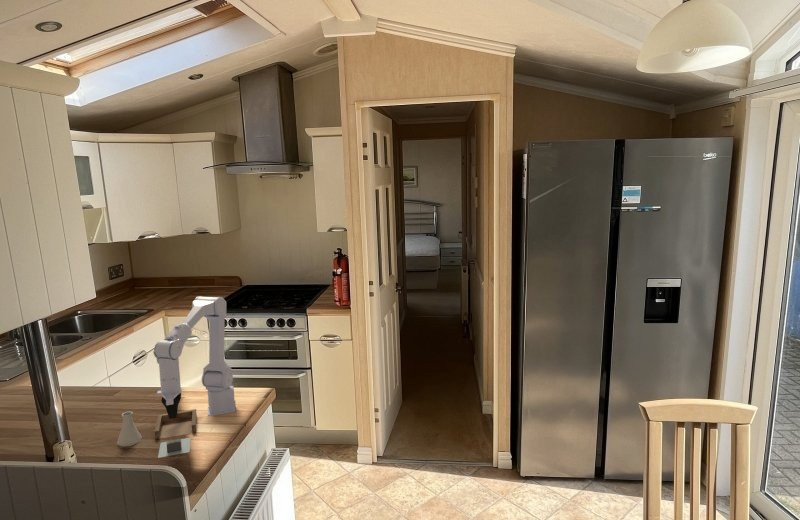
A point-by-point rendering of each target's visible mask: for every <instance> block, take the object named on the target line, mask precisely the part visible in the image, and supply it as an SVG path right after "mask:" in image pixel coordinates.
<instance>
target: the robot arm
mask: <svg viewBox="0 0 800 520" xmlns="http://www.w3.org/2000/svg"><path fill="white" fill-rule="evenodd" d="M203 317H205V318H206V319H207V320H208V321H209V325H208V326H209V330H208V331H209V337H208V338H209V341H208V342H209V343H208V345H209V346H208V347H209V350H208V351H209V354H208V355H209V356H208V359H209V360H208V361H209V363H208V364H206V365H205V366H204V367H203V370H202V375H201V384H202V386H203V387H205V390H207V401H208V402H207V403H208V406H207V416H208V417H211V416H216V415H222V414H223V415H224V414H229V413H230V414H231V413H235V412H236V400H235V389H234V388H235V387H234V385H232V384H233V381H234V376H233V373H232V372H233V371H232V366H231V365H229V363H227V362H226V361H225V322H226V321H225V318H226V317H227V301H226V300H225V299H224V297H223V296H201V295H197V296H196V297H195V298H194V300H193V301H192V304H191V310H190V311H189V312H188V314H187V315H186V317H185V319H184V320H183V321H182V322H181V323H177V324H175V325H174V327H173V328H172V329H171V331H169V333H168V334H167V335H166V336H165V337H164V339H161V340H159V341H158V342H156V344H155V345H154V348H153V349H154V350H153V352H152V353H153V356H154V358H155V359H156V363H157V364H158V370H159V382H160V390H157V391H156V395H157V396H161V403H162V405H163V406H164V407H165V410H166V414H167V413H168V416H169V419H172V418H176V417H177V412H179V411H178V410H179V409H178V408H179V404H180V402H181V399H182V387H181V386H182V385H181V375H180V374H181V373H180V361H179V360H180V358H179V357H181V355H182V352H183V349H184V347H185V345H184V344H185V343H187V341H188V339H189V338H190V337H191V335H192V334H193V332H192V331H193V330H192V329H193V328H194V327H195V326H196V325H197V324H198V322H200V320H202V318H203Z"/></svg>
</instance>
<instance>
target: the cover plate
mask: <svg viewBox="0 0 800 520" xmlns="http://www.w3.org/2000/svg"><path fill="white" fill-rule="evenodd" d="M159 445H160V446H159V449H158V456H157V458H158V459H160V458H164V457H171V456H177V455H182V454H186V453H191V452H190V451H191V437H186V438H185V437H184V438H176V439H172V440H167V441H162V442H160V444H159Z"/></svg>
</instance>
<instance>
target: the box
mask: <svg viewBox="0 0 800 520" xmlns="http://www.w3.org/2000/svg"><path fill="white" fill-rule="evenodd" d="M197 416H198V415H197V408H195V409H189V410H182V411H177V417H176V418H172V419H169V416H168V413H167V412H166V413H162V414H158V415H157V419H156V423H155V428H154V438H155V439H154V440H160V439H161V440H162V439H167V438H173V437H178V436H180V437H181V436H184V435H190V434H196V433H197V418H198V417H197Z"/></svg>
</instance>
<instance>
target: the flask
mask: <svg viewBox="0 0 800 520" xmlns="http://www.w3.org/2000/svg"><path fill="white" fill-rule="evenodd" d="M133 414H134V412H133V411H125V412H122V414H121V417H122V425H121V429H120V432H119V436H118V438H117V442H116V444H115V445H117V446H119V447H123V448H124V447H132V446H134V445H136V444H138V443H140V442H141V441H142V439H143V437H142V435H141V433H140V431H139V429H138V428H137V426H136V424H135V421H134V419H133Z"/></svg>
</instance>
